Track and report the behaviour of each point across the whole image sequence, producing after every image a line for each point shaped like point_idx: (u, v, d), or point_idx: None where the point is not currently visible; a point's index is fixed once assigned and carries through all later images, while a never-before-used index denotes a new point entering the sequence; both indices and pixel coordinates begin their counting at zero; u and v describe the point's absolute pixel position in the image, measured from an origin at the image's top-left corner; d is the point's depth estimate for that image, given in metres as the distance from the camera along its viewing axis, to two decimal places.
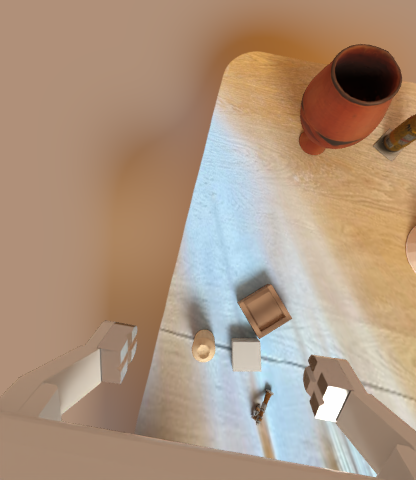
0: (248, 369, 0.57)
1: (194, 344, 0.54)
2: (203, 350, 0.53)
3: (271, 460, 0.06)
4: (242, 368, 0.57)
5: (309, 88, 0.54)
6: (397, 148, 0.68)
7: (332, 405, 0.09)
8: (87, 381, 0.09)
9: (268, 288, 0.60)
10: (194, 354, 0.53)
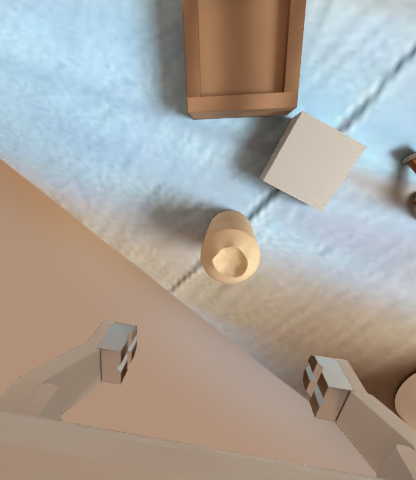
0: (341, 175, 0.22)
1: (207, 270, 0.21)
2: (230, 259, 0.20)
3: (271, 460, 0.06)
4: (330, 188, 0.23)
5: None
6: None
7: (332, 405, 0.09)
8: (87, 381, 0.09)
9: None
10: (227, 281, 0.21)
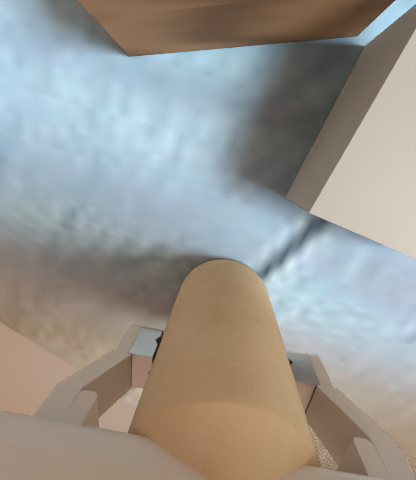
0: None
1: None
2: None
3: None
4: None
5: None
6: None
7: None
8: (119, 386, 0.09)
9: None
10: None
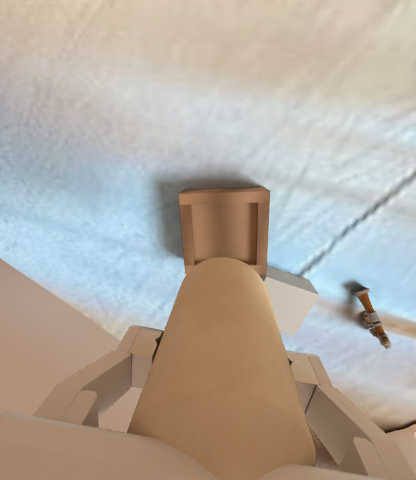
0: (303, 313, 0.29)
1: None
2: None
3: None
4: (297, 321, 0.30)
5: None
6: None
7: None
8: (119, 386, 0.09)
9: (183, 204, 0.26)
10: None
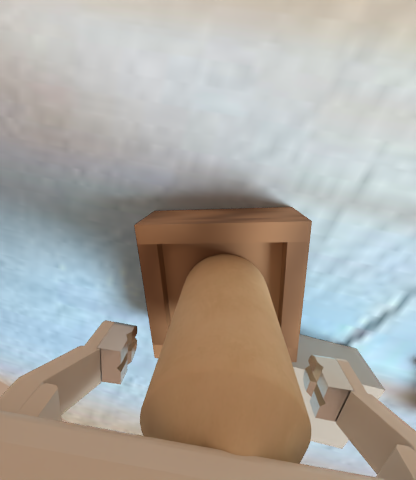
0: None
1: None
2: None
3: (271, 460, 0.06)
4: None
5: None
6: None
7: (332, 405, 0.09)
8: (87, 381, 0.09)
9: (145, 244, 0.14)
10: None
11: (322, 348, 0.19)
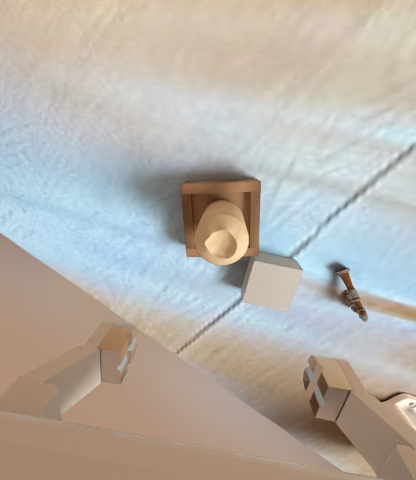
0: (293, 289, 0.33)
1: (200, 253, 0.23)
2: (222, 242, 0.22)
3: (271, 460, 0.06)
4: (288, 297, 0.33)
5: None
6: None
7: (332, 405, 0.09)
8: (87, 381, 0.09)
9: (185, 194, 0.29)
10: (219, 263, 0.23)
11: (274, 257, 0.34)
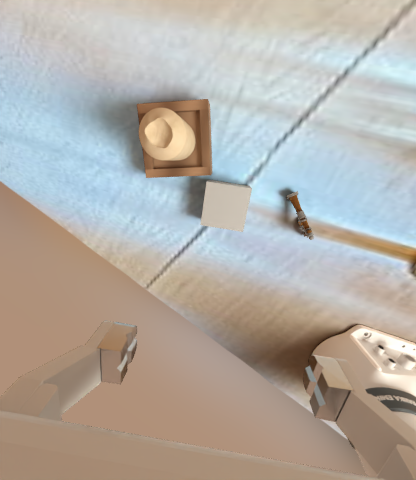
0: (244, 208, 0.36)
1: (144, 147, 0.26)
2: (161, 133, 0.25)
3: (271, 460, 0.06)
4: (241, 217, 0.36)
5: None
6: None
7: (332, 405, 0.09)
8: (87, 381, 0.09)
9: (141, 113, 0.32)
10: (160, 156, 0.26)
11: (228, 183, 0.37)
